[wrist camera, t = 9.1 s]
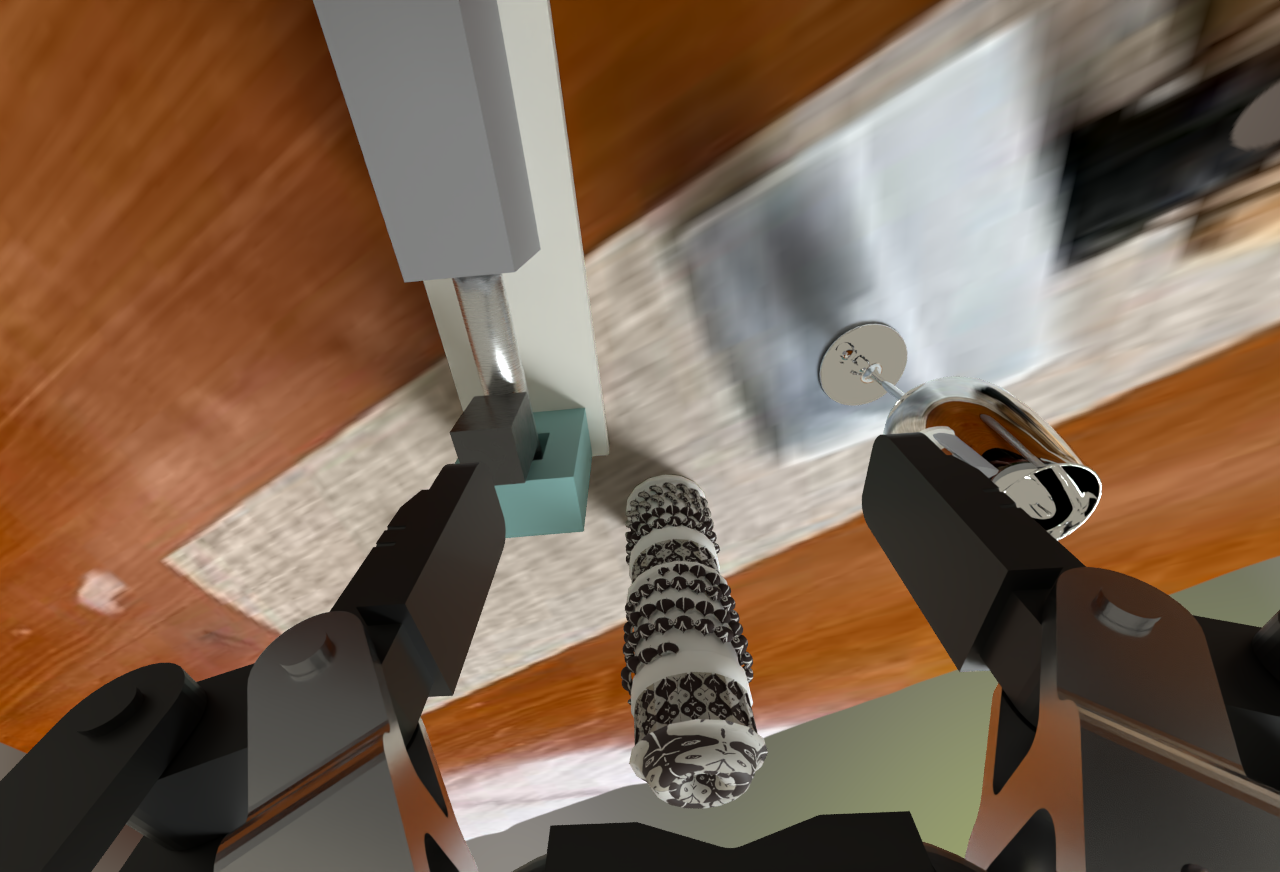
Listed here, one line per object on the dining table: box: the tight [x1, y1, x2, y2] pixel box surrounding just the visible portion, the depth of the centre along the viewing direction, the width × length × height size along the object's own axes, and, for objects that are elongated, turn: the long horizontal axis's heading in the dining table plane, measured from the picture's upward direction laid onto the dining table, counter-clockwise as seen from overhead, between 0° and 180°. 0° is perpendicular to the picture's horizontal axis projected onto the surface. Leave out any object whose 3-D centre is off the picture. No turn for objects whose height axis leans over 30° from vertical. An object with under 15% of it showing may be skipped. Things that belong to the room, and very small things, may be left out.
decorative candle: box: [621, 475, 768, 808], centre depth 37 cm, size 9×9×25 cm
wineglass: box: [819, 324, 1102, 541], centre depth 32 cm, size 8×8×20 cm
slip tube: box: [450, 273, 543, 486], centre depth 29 cm, size 21×4×8 cm, turn 5°
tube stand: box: [313, 0, 609, 456], centre depth 31 cm, size 32×12×11 cm, turn 5°
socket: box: [455, 408, 592, 538], centre depth 36 cm, size 5×9×10 cm, turn 95°
